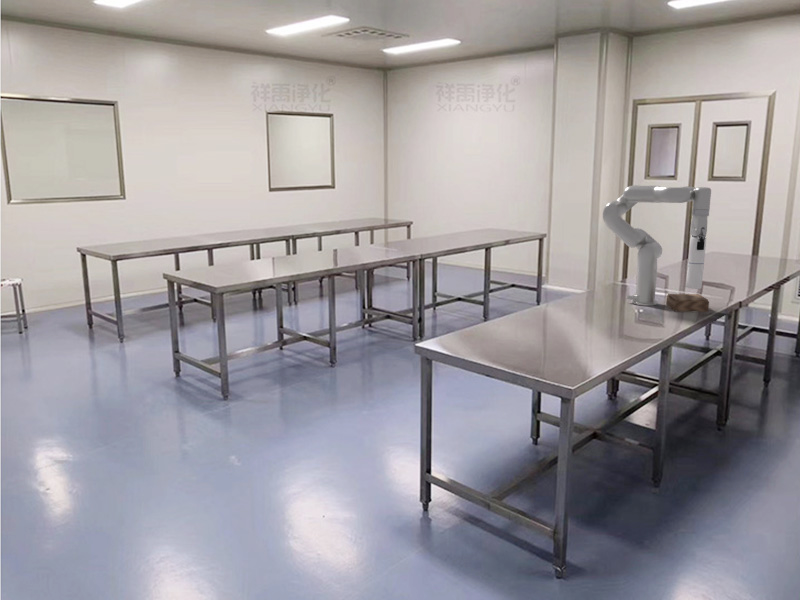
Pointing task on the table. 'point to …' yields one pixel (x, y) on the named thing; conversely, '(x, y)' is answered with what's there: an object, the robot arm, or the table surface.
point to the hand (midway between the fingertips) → (697, 248)
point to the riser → (687, 302)
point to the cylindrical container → (695, 265)
